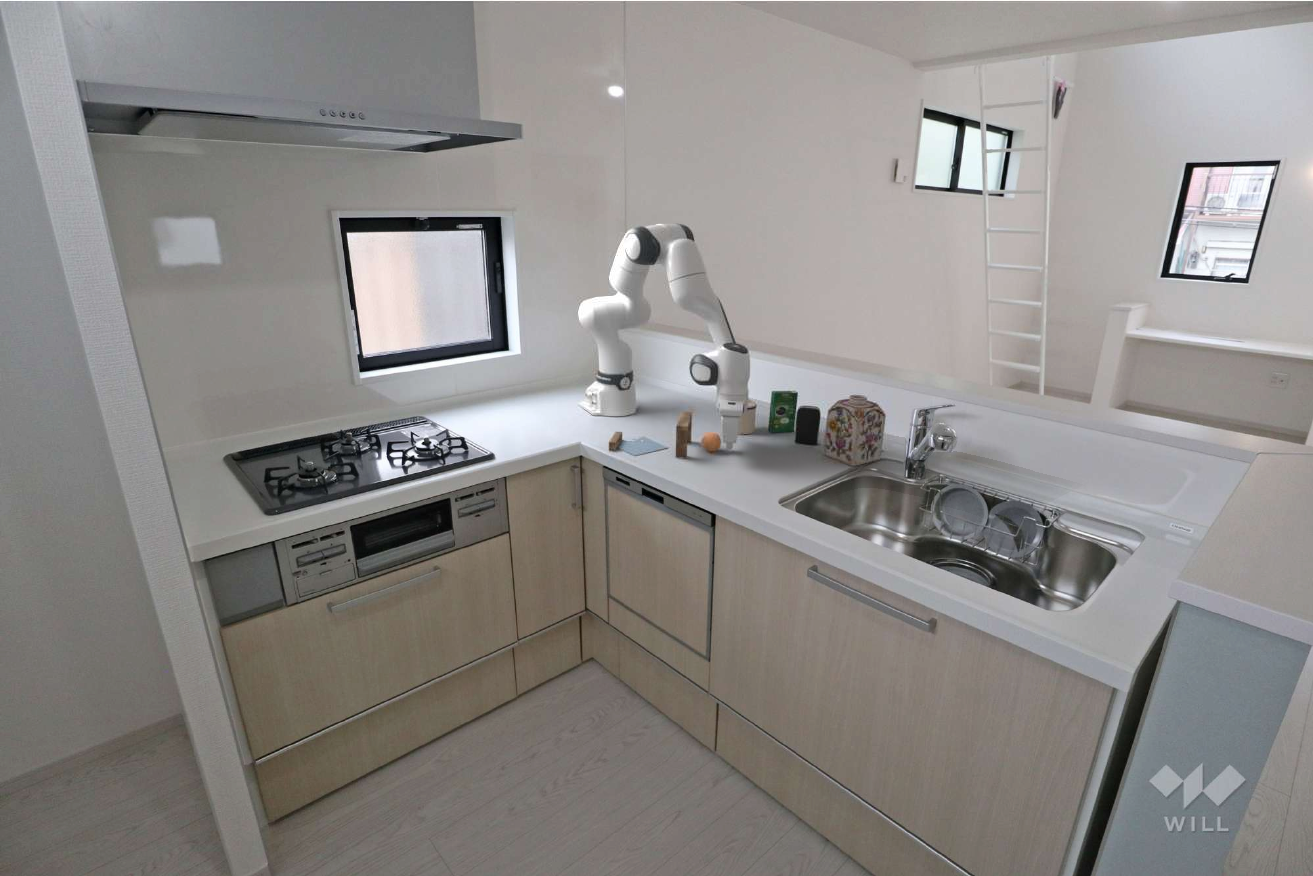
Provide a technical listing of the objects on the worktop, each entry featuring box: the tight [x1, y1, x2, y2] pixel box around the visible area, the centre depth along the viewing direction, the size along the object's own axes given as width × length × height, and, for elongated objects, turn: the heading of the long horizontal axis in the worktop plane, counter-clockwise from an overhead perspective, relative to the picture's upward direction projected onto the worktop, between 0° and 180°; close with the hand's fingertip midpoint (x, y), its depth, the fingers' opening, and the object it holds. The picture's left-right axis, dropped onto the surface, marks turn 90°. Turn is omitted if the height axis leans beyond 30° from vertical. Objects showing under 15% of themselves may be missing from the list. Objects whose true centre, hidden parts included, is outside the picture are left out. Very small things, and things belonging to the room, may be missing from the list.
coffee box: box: [767, 390, 799, 434], centre depth 212 cm, size 8×3×13 cm, turn 102°
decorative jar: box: [823, 394, 887, 467], centre depth 189 cm, size 12×12×18 cm
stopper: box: [608, 431, 623, 452], centre depth 198 cm, size 2×10×2 cm, turn 172°
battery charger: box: [794, 405, 821, 446], centre depth 202 cm, size 7×4×11 cm, turn 75°
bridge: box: [675, 410, 693, 459], centre depth 195 cm, size 3×15×9 cm, turn 172°
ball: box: [701, 431, 722, 452], centre depth 194 cm, size 6×6×6 cm
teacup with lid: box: [718, 398, 758, 436], centre depth 212 cm, size 12×9×12 cm
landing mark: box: [617, 436, 669, 457], centre depth 198 cm, size 12×12×1 cm
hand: (729, 447), depth 195 cm, fingers closed
